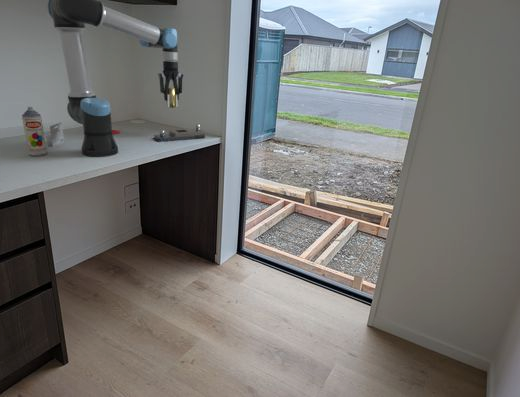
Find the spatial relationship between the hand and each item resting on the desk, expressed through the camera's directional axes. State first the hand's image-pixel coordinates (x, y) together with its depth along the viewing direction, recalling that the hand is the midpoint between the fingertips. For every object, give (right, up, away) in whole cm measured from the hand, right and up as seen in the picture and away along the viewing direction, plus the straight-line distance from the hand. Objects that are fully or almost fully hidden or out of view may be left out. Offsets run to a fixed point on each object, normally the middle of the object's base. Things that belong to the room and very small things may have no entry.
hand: (171, 106), depth 197 cm
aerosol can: (-48, -32, -41) cm, 70 cm away
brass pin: (0, 0, 0) cm, 0 cm away
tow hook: (-36, -13, +7) cm, 39 cm away
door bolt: (+5, -17, +4) cm, 18 cm away
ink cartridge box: (-50, -25, -24) cm, 60 cm away
